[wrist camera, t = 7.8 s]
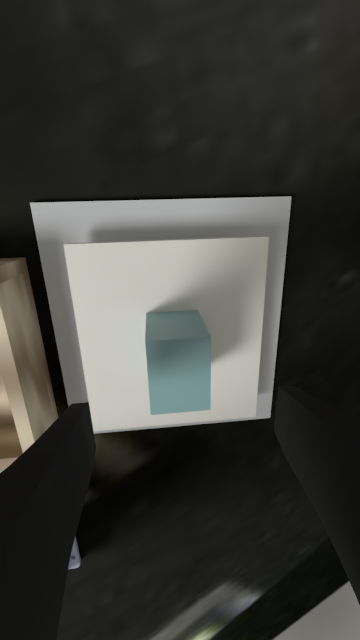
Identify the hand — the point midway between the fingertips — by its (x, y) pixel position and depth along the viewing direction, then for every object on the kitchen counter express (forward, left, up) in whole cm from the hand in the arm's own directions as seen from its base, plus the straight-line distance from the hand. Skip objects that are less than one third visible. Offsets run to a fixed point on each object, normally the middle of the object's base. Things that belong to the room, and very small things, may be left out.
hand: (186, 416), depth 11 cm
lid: (0, 0, -9) cm, 9 cm away
